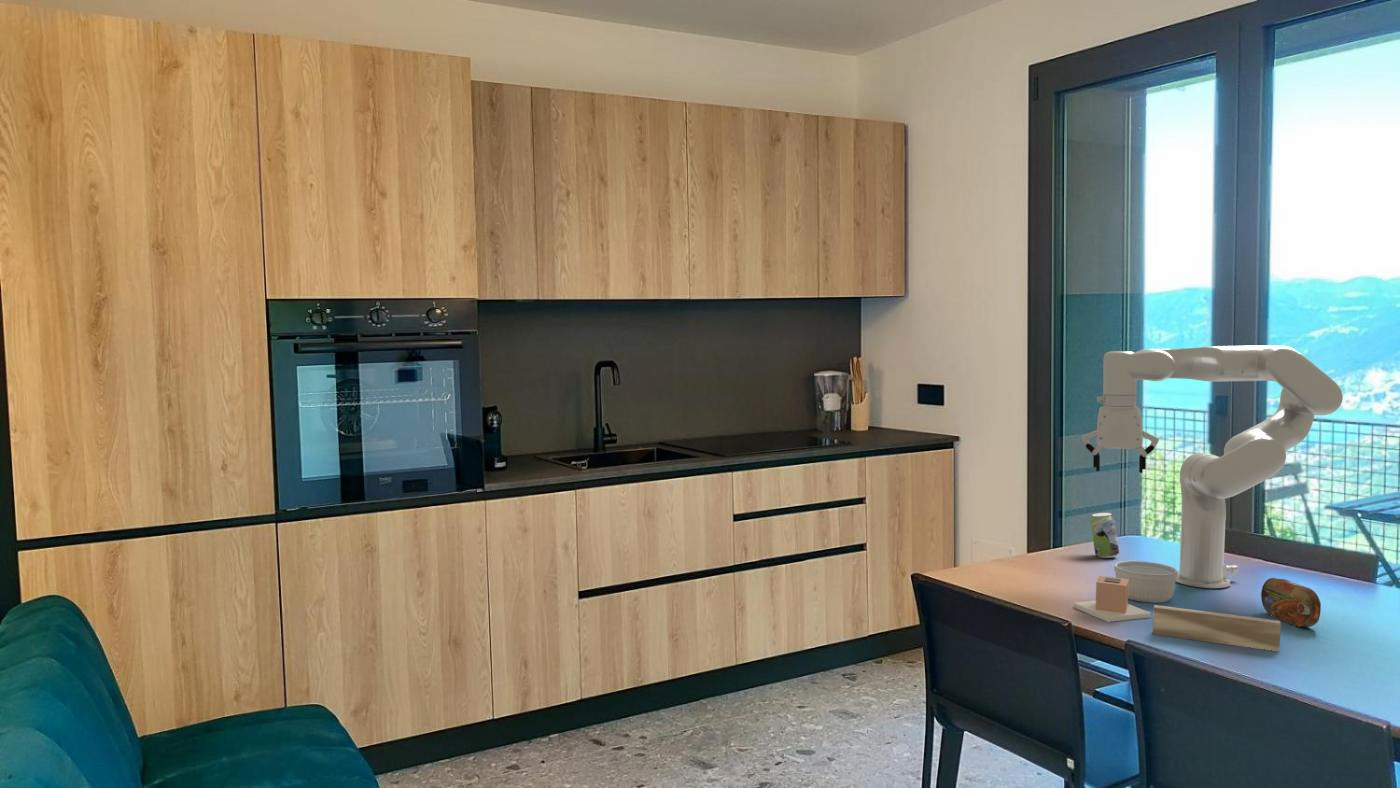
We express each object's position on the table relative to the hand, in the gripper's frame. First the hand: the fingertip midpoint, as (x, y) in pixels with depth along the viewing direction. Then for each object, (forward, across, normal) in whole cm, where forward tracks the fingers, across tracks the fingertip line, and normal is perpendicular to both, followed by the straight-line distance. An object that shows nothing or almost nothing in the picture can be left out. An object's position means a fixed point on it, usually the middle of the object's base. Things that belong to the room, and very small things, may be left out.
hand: (1119, 471), depth 232 cm
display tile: (+27, -1, -30) cm, 40 cm away
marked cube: (+26, -1, -30) cm, 39 cm away
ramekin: (+27, +6, -13) cm, 31 cm away
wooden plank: (+27, +18, -42) cm, 53 cm away
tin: (+28, +34, -21) cm, 48 cm away
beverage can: (+27, -4, +23) cm, 36 cm away
